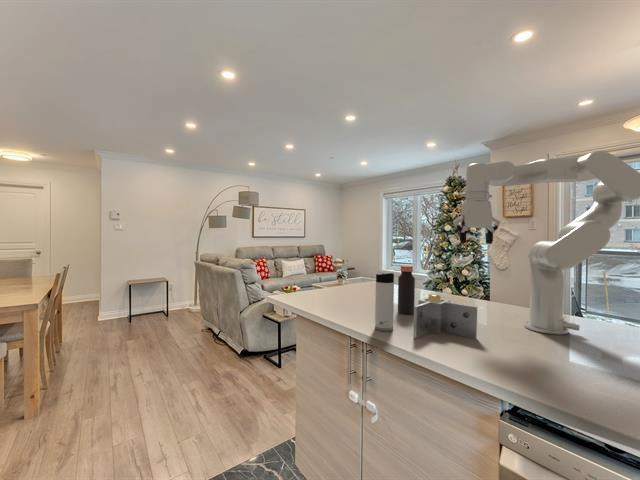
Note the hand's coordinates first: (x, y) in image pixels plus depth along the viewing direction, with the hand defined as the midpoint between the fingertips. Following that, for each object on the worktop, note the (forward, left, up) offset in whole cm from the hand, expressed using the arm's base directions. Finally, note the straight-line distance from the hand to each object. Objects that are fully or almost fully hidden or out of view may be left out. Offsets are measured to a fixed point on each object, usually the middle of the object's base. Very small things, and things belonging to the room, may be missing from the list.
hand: (476, 243), depth 113 cm
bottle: (+26, +4, -31) cm, 40 cm away
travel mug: (+20, +30, -31) cm, 47 cm away
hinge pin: (+8, +17, -30) cm, 36 cm away
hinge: (+3, +22, -30) cm, 38 cm away
